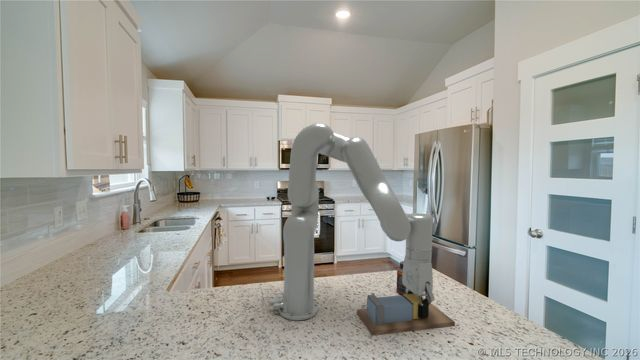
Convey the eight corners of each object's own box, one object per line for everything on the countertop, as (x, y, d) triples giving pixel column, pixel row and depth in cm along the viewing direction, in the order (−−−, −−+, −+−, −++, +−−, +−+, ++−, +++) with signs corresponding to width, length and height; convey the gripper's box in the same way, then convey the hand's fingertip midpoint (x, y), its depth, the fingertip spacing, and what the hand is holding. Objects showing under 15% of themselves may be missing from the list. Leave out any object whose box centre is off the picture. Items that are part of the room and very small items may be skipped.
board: (372, 335, 74) (372, 331, 74) (356, 313, 86) (357, 309, 86) (454, 325, 80) (454, 321, 79) (429, 306, 91) (429, 302, 91)
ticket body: (375, 325, 76) (376, 306, 76) (365, 312, 84) (365, 294, 84) (413, 321, 79) (414, 302, 79) (400, 308, 86) (401, 291, 86)
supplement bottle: (414, 297, 98) (415, 266, 98) (397, 295, 99) (397, 264, 99) (411, 290, 104) (412, 260, 103) (395, 288, 105) (396, 259, 105)
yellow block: (413, 319, 80) (413, 303, 80) (402, 309, 86) (403, 294, 86) (428, 317, 81) (428, 301, 81) (417, 307, 87) (417, 293, 87)
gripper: (393, 246, 91) (392, 300, 91) (424, 263, 74) (422, 329, 74) (413, 246, 92) (412, 298, 93) (448, 262, 75) (446, 326, 76)
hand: (416, 311), depth 83 cm, fingers closed on yellow block, 5 cm apart
